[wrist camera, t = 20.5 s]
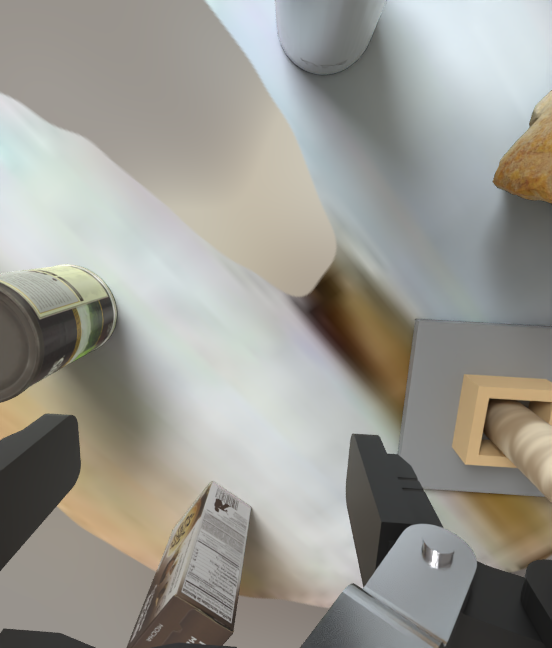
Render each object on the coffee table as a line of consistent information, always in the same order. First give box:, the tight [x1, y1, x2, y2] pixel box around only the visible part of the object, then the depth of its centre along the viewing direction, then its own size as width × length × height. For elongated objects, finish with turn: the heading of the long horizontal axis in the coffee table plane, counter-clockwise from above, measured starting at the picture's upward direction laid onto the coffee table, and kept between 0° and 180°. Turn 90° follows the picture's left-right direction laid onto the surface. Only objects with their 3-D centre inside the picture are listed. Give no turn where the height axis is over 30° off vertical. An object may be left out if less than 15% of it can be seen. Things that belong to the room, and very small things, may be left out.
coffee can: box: [0, 264, 117, 403], centre depth 37 cm, size 10×10×14 cm
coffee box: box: [127, 481, 251, 648], centre depth 41 cm, size 9×6×16 cm
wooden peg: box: [483, 398, 552, 503], centre depth 37 cm, size 5×5×14 cm
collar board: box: [398, 319, 552, 497], centre depth 42 cm, size 20×20×5 cm
